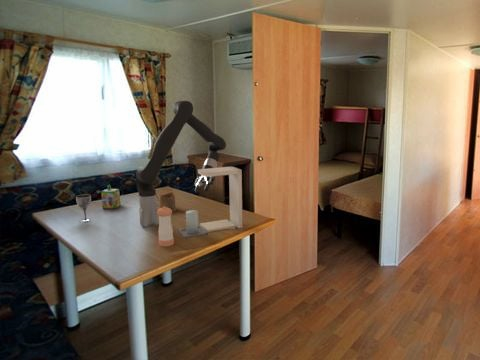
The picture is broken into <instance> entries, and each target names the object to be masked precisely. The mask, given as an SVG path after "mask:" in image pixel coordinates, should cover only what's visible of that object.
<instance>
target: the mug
mask: <svg viewBox="0 0 480 360" xmlns="http://www.w3.org/2000/svg"><path fill="white" fill-rule="evenodd" d="M175 195H176V194H175V192H174V191H172V192H168V193H164V194H161V195H159V197H158V193H157V192H156V199H159V205H158V204H157V208H158V209H160V208H163V207H164V206H165V207H167V208H170V209H171V210H172V212H175V211H176V210H177V209H178V208H177V207H176V198H175V197H176V196H175Z"/></svg>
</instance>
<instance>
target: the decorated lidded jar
mask: <svg viewBox="0 0 480 360" xmlns="http://www.w3.org/2000/svg"><path fill="white" fill-rule="evenodd" d="M100 194H101V204H102V205H101V206H102V209H117V208H119V206H122V205H121V194H120V188H112V186H111V184H108V185H107V186H106V189H105V188H104V190H101V191H100Z"/></svg>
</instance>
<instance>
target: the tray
mask: <svg viewBox="0 0 480 360" xmlns="http://www.w3.org/2000/svg"><path fill="white" fill-rule="evenodd" d="M198 230H199V232H198V233H197V234H187V227H185V228H180V229H178V230H177V231H178V232H179V234H180V235H181V236H183V238H185V239H187V238H192V237H193V238H194V237H199V236H205V235H208V234H209V232H207V231H206V230H205V229H203V228H202V227H201V226H200V225H198Z"/></svg>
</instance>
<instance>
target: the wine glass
mask: <svg viewBox="0 0 480 360" xmlns="http://www.w3.org/2000/svg"><path fill="white" fill-rule="evenodd" d="M75 201H76V204H77V207H78V208H79V209H80V210H82V211H83V214H84V218H83V219H81V220H82V221H89V220H90V219H91V218H87V211H88V209H89V207H90V206H91V203H92V195H91V194H88V193H86V194H85V193H84V194H79V195H76V196H75Z"/></svg>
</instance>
